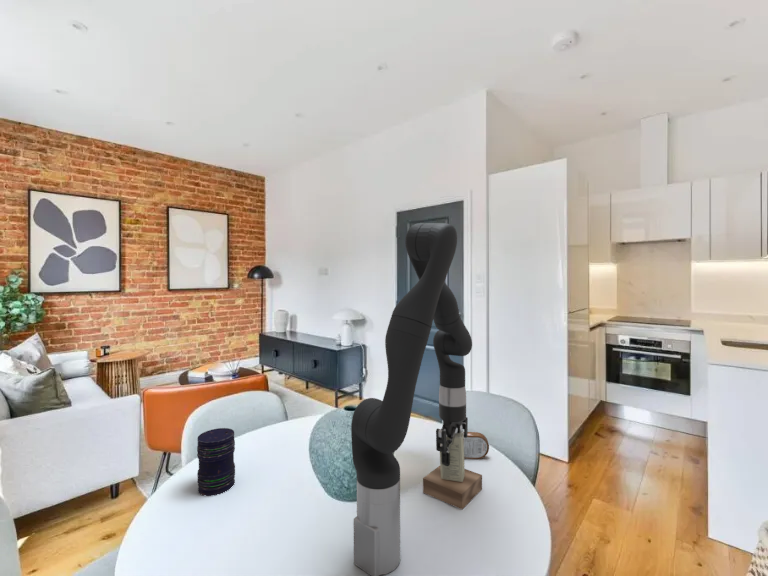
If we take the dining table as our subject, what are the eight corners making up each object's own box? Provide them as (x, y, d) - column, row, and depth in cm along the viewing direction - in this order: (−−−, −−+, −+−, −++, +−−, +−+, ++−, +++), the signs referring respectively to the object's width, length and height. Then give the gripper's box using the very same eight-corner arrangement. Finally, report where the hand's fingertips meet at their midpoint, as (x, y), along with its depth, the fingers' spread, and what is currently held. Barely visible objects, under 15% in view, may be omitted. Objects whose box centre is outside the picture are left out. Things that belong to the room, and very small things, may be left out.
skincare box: (465, 474, 101) (464, 432, 101) (462, 483, 97) (462, 438, 97) (442, 471, 104) (442, 429, 103) (439, 478, 99) (438, 435, 99)
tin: (487, 456, 121) (487, 431, 121) (490, 460, 118) (490, 435, 118) (443, 454, 122) (442, 430, 122) (443, 459, 119) (443, 434, 119)
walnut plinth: (462, 509, 92) (462, 494, 92) (423, 492, 100) (423, 478, 100) (482, 489, 101) (482, 474, 101) (444, 474, 109) (444, 461, 109)
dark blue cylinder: (202, 500, 97) (201, 445, 96) (193, 485, 104) (193, 434, 104) (240, 487, 103) (239, 435, 103) (229, 473, 111) (229, 425, 110)
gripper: (451, 411, 92) (451, 474, 93) (476, 397, 103) (476, 454, 104) (427, 405, 97) (427, 465, 97) (453, 392, 108) (453, 446, 108)
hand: (452, 459), depth 100 cm, fingers open, 7 cm apart
